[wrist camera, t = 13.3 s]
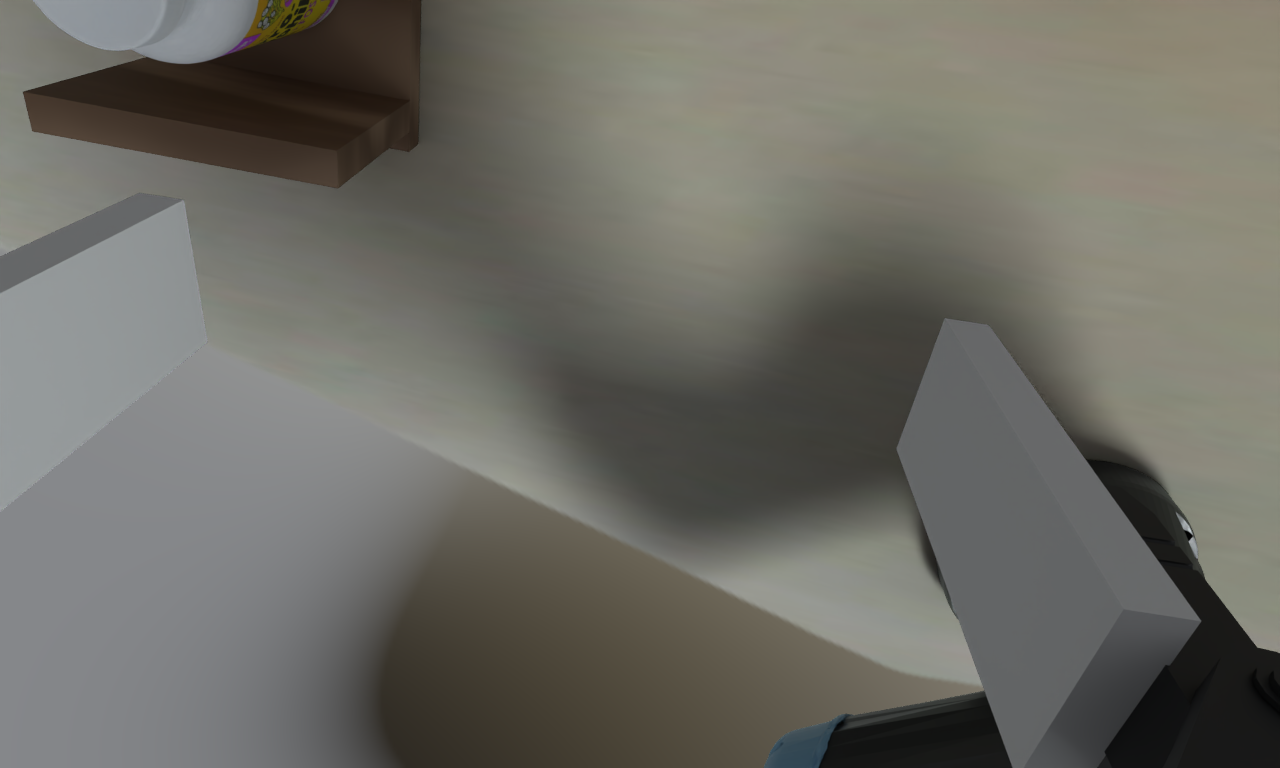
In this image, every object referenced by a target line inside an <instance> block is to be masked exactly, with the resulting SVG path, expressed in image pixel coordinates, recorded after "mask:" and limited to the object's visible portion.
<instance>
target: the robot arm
mask: <svg viewBox="0 0 1280 768" xmlns="http://www.w3.org/2000/svg"><path fill="white" fill-rule="evenodd" d="M207 342H208V341H207V335H206V329H205V323H204V317H203V311H202V305H201V299H200V293H199V287H198V281H197V275H196V269H195V263H194V257H193V251H192V245H191V239H190V233H189V227H188V221H187V215H186V209H185V203H184V200H182V199H176V198H169V197H163V196H156V195H150V194H144V193H138V194H136V195H134V196H132V197H129V198H127V199H125V200H123V201H121V202H118V203H116V204H114V205H112V206H110V207H107V208H105V209H103V210H101V211H99V212H97V213H94V214H92V215H90V216H88V217H86V218H83V219H81V220H79V221H77V222H75V223H72V224H70V225H68V226H66V227H64V228H61V229H59V230H57V231H55V232H53V233H51V234H48V235H46V236H44V237H42V238H40V239H37V240H35V241H33V242H31V243H29V244H26V245H24V246H22V247H20V248H18V249H16V250H13V251H11V252H9V253H7V254H5V255H3V256H0V512H1V511H2V510H3V509H4V508H5V507H6V506H8V505H9V504H10V503H12V502H13V501H14V500H15V499H17V498H18V497H19V496H20V495H21V494H23V493H24V492H25V491H26V490H28V489H29V488H30V487H31V486H32V485H34V484H35V483H36V482H37V481H39V480H40V479H41V478H42V477H43V476H45V475H46V474H47V473H48V472H50V471H51V470H52V469H53V468H54V467H56V466H57V465H58V464H59V463H61V462H62V461H63V460H64V459H65V458H66V457H68V456H69V455H70V454H72V453H73V452H74V451H75V450H76V449H78V448H79V447H80V446H81V445H83V444H84V443H85V442H86V441H87V440H89V439H90V438H91V437H92V436H94V435H95V434H96V433H97V432H98V431H100V430H101V429H102V428H103V427H105V426H106V425H107V424H108V423H109V422H111V421H112V420H113V419H114V418H116V417H117V416H118V415H119V414H121V413H122V412H123V411H124V410H125V409H126V408H128V407H129V406H130V405H131V404H133V403H134V402H135V401H136V400H137V399H139V398H140V397H141V396H143V395H144V394H145V393H146V392H147V391H148V390H150V389H151V388H152V387H154V386H155V385H156V384H157V383H158V382H160V381H161V380H162V379H163V378H165V376H167V375H168V374H169V373H171V372H172V371H173V370H174V369H175V368H177V367H178V366H179V365H180V364H182V363H183V362H184V361H185V360H186V359H188V358H189V357H190V356H191V355H193V354H194V353H195V352H196V351H198V350H199V349H200V348H201V347H202V346H204V345H205V344H206V343H207ZM896 450H897V452H898V455H899V458H900V460H901V463H902V466H903V469H904V471H905V474H906V477H907V480H908V482H909V485H910V488H911V491H912V493H913V496H914V499H915V502H916V504H917V507H918V510H919V513H920V515H921V518H922V521H923V524H924V526H925V529H926V532H927V534H928V537H929V540H930V543H931V545H932V548H933V551H934V554H935V556H936V559H937V570H938V575H939V579H940V582H941V585H942V587H943V590H944V593H945V596H946V598H947V601H948V603H949V606H950V608H951V609H952V611H953V613H954V615H955V616H956V617H957V619H958V620H959V622H960V625H961V628H962V630H963V633H964V636H965V639H966V641H967V644H968V647H969V650H970V652H971V655H972V658H973V661H974V663H975V666H976V669H977V672H978V674H979V677H980V680H981V682H982V685H983V688H984V691H981V692H976V693H971V694H966V695H960V696H955V697H950V698H945V699H940V700H935V701H930V702H925V703H920V704H914V705H909V706H903V707H897V708H892V709H886V710H881V711H875V712H870V713H865V714H858V715H850V714H842V715H839V716H837V717H836V718H834V719H833V720H832V721H829V722H826V723H822V724H818V725H814V726H809V727H806V728H801V729H797V730H794V731H791V732H789V733H787V734H785V735H784V736H783V737H781V738H780V739H779V740H778V741H777V742H776V744H775V745H774V747H773V749H772V750H771V752H770V754H769V757H768V759H767V761H766V763H765V766H764V768H1280V653H1278V652H1274V651H1270V650H1265V649H1261V648H1257V647H1256V645H1255V644H1254V643H1253V641H1252V640H1251V639H1250V638H1249V636H1248V635H1247V634H1246V632H1245V631H1244V630H1243V628H1242V627H1241V626H1240V625H1239V623H1238V622H1237V621H1236V619H1235V618H1234V617H1233V615H1232V614H1231V613H1230V612H1229V610H1228V609H1227V608H1226V606H1225V605H1224V604H1223V602H1222V601H1221V600H1220V599H1219V597H1218V596H1217V595H1216V593H1215V592H1214V591H1213V589H1212V588H1211V587H1210V586H1209V584H1208V583H1207V582H1206V580H1205V577H1204V574H1203V571H1202V568H1201V566H1200V564H1199V562H1198V549H1197V543H1196V539H1195V536H1194V533H1193V530H1192V528H1191V526H1190V524H1189V522H1188V520H1187V518H1186V517H1185V515H1184V514H1183V513H1182V511H1181V510H1180V509H1179V507H1178V506H1177V505H1176V504H1175V502H1174V501H1173V500H1172V499H1171V497H1170V496H1169V495H1168V493H1167V492H1166V491H1165V490H1164V489H1163V488H1162V487H1161V486H1160V485H1159V484H1158V483H1157V482H1155V481H1154V480H1153V479H1151V478H1150V477H1148V476H1146V475H1145V474H1143V473H1141V472H1139V471H1136V470H1134V469H1131V468H1129V467H1126V466H1122V465H1119V464H1114V463H1109V462H1102V461H1090V460H1085V458H1084V457H1083V455H1082V454H1081V453H1080V451H1079V450H1078V448H1077V447H1076V446H1075V444H1074V443H1073V441H1072V440H1071V439H1070V437H1069V436H1068V435H1067V433H1066V432H1065V430H1064V429H1063V428H1062V426H1061V425H1060V423H1059V422H1058V421H1057V419H1056V418H1055V416H1054V415H1053V414H1052V412H1051V411H1050V409H1049V408H1048V407H1047V405H1046V404H1045V402H1044V401H1043V400H1042V398H1041V397H1040V395H1039V394H1038V393H1037V391H1036V390H1035V388H1034V387H1033V386H1032V384H1031V383H1030V382H1029V380H1028V379H1027V377H1026V376H1025V375H1024V373H1023V372H1022V370H1021V369H1020V368H1019V366H1018V365H1017V363H1016V362H1015V361H1014V359H1013V358H1012V356H1011V355H1010V354H1009V352H1008V351H1007V349H1006V348H1005V347H1004V345H1003V344H1002V342H1001V341H1000V340H999V338H998V337H997V335H996V334H995V333H994V331H993V330H992V328H991V327H990V326H989V325H986V324H980V323H973V322H967V321H960V320H954V319H947V318H945V319H944V321H943V324H942V327H941V329H940V332H939V335H938V338H937V340H936V343H935V346H934V348H933V351H932V354H931V356H930V359H929V362H928V365H927V367H926V370H925V373H924V375H923V378H922V381H921V383H920V386H919V389H918V392H917V394H916V397H915V400H914V402H913V405H912V408H911V411H910V413H909V416H908V419H907V421H906V424H905V427H904V429H903V432H902V435H901V438H900V440H899V443H898V446H897V448H896Z"/></svg>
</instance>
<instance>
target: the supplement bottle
mask: <svg viewBox="0 0 1280 768" xmlns="http://www.w3.org/2000/svg"><path fill="white" fill-rule="evenodd" d="M33 1H34V3H35V4H36V5H37V6H38V7H39V9H40V10H41V11H42V12H43V13H44V14H45V15H46V16H47V17H48V19H50V20H51V21H52V22H53V23H54V24H55V25H56V26H58V27H59V28H60V29H62V30H63V31H64V32H66V33H67V34H69V35H71V36H72V37H74V38H76V39H77V40H79V41H81V42H83V43H86V44H88V45H90V46H93V47H96V48H100V49H104V50H114V51H123V50H129V49H131V50H133V51H135V52H137V53H139V54H142V55H144V56H147V57H149V58H152V59H155V60H159V61H163V62H168V63H177V64H192V63H199V62H204V61H208V60H212V59H215V58H218V57H221V56H224V55H227V54H230V53H233V52H236V51H240V50H243V49H246V48H250V47H253V46H256V45H259V44H262V43H265V42H269V41H272V40H275V39H278V38H282V37H285V36H288V35H291V34H294V33H297V32H300V31H303V30H306V29H308V28H311V27H313V26H315V25H317V24H318V23H320V22H321V21H322V20H324V19H325V18H326V17H327V16H328V15H329V14H330V13H331V11H332V10H333V9H334V7H335V5H336V4H337V2H338V0H33Z"/></svg>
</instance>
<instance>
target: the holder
mask: <svg viewBox="0 0 1280 768" xmlns="http://www.w3.org/2000/svg"><path fill="white" fill-rule="evenodd" d="M420 30H421V0H338V2H337V4H336V5H335V7H334V9H333V10H332V11H331V13H330V14H329V15H328V16H327V17H326V18H325V19H324V20H322V21H321V22H320V23H318V24H317V25H315V26H313V27H311V28H308V29H306V30H303V31H300V32H297V33H294V34H291V35H288V36H285V37H282V38H278V39H275V40H272V41H269V42H265V43H262V44H259V45H256V46H253V47H250V48H246V49H243V50H240V51H236V52H233V53H230V54H227V55H224V56H221V57H218V58H215V59H212V60H208V61H204V62H199V63H192V64H177V63H168V62H163V61H159V60H155V59H152V58H149V57H146V58H142V59H139V60H135V61H131V62H128V63H124V64H121V65H117V66H113V67H110V68H106V69H103V70H99V71H96V72H92V73H88V74H85V75H81V76H78V77H74V78H71V79H67V80H63V81H60V82H56V83H53V84H49V85H45V86H42V87H38V88H35V89H31V90H28V91H24V92H23V94H24V98H25V102H26V107H27V111H28V115H29V119H30V123H31V127H32V131H34V132H39V133H44V134H50V135H55V136H60V137H66V138H71V139H76V140H82V141H87V142H93V143H98V144H103V145H109V146H114V147H119V148H125V149H130V150H135V151H141V152H146V153H151V154H157V155H162V156H167V157H173V158H178V159H184V160H189V161H194V162H200V163H205V164H210V165H216V166H221V167H226V168H232V169H237V170H242V171H248V172H253V173H258V174H264V175H269V176H275V177H280V178H285V179H291V180H296V181H301V182H307V183H312V184H317V185H323V186H328V187H333V188H339V187H340V186H342V185H343V184H344V183H345V182H347V181H348V180H349V179H351V178H352V177H353V176H354V175H356V174H357V173H358V172H359V171H361V170H362V169H363V168H364V167H366V166H367V165H368V164H369V163H371V162H372V161H373V160H375V159H376V158H377V157H378V156H380V155H381V154H382V153H383V152H385V151H386V150H387V149H388V148H391V149H397V150H402V151H407V152H410V151H411V150H412V149H413V148H414V147H415V146H417V145H418V132H419V81H420Z"/></svg>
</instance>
